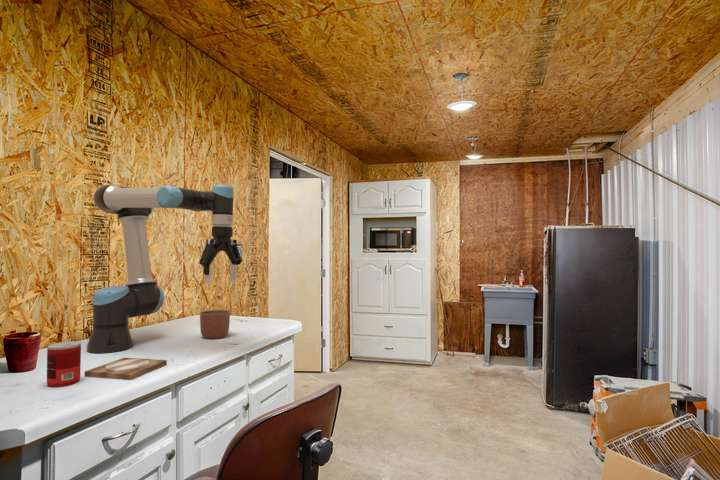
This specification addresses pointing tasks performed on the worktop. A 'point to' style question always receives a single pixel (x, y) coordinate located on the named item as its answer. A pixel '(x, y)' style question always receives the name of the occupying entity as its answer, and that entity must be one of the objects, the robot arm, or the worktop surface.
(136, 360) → the board
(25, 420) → the worktop surface
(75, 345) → the canned food
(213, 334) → the planter
